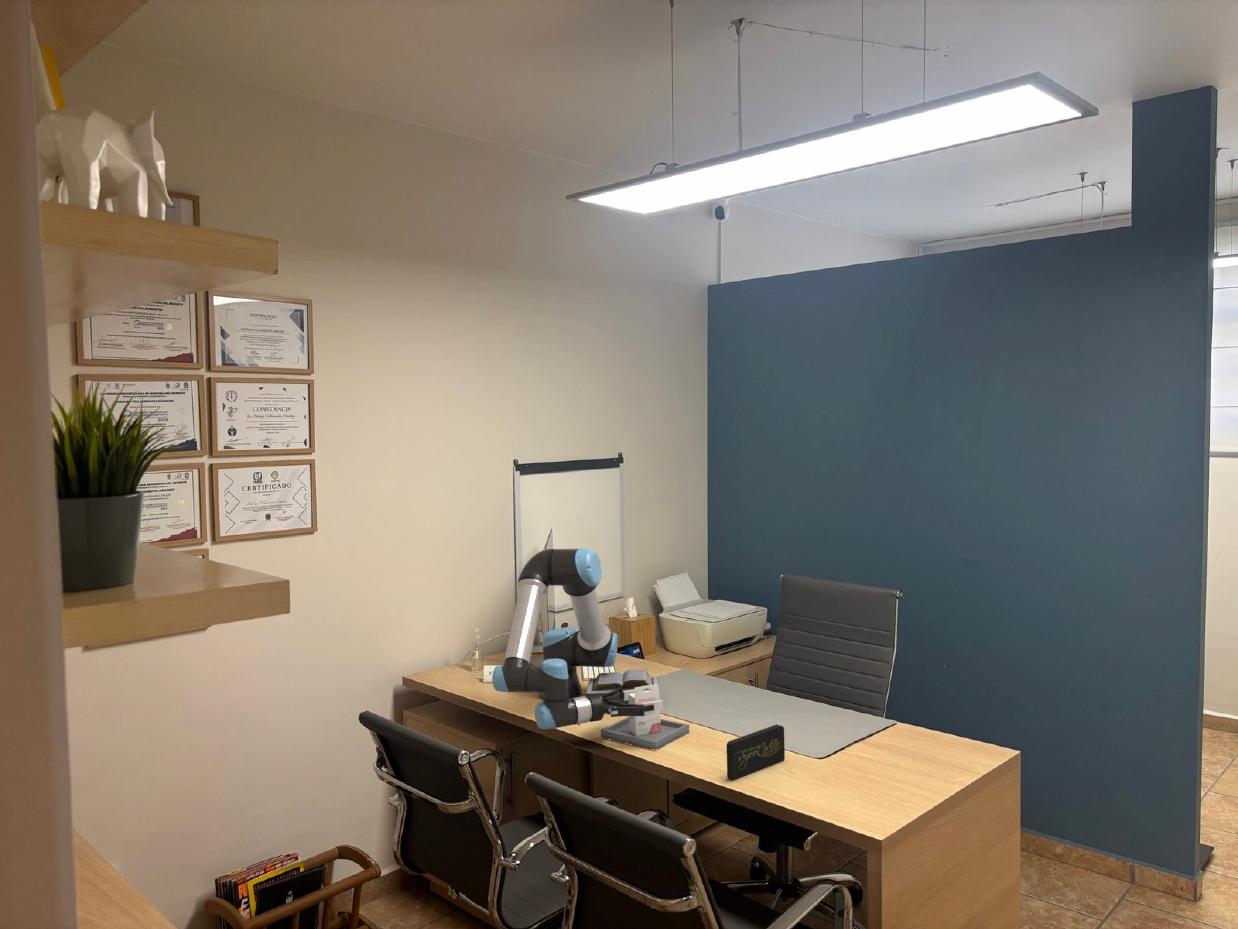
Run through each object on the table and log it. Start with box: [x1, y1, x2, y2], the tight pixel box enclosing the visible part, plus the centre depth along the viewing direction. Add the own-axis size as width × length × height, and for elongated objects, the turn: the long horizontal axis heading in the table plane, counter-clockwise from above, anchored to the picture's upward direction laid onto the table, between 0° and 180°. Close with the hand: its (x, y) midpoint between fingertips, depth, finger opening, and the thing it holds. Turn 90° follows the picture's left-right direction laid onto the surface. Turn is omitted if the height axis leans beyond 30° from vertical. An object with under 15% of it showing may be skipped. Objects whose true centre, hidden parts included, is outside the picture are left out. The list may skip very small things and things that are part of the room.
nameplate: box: [726, 723, 786, 781], centre depth 240 cm, size 21×2×10 cm, turn 129°
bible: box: [585, 668, 659, 704], centre depth 303 cm, size 23×27×10 cm
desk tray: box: [600, 716, 690, 751], centre depth 269 cm, size 18×20×2 cm
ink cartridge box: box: [628, 683, 661, 736], centre depth 269 cm, size 9×5×15 cm, turn 114°
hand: (652, 698), depth 270 cm, fingers open, 13 cm apart
